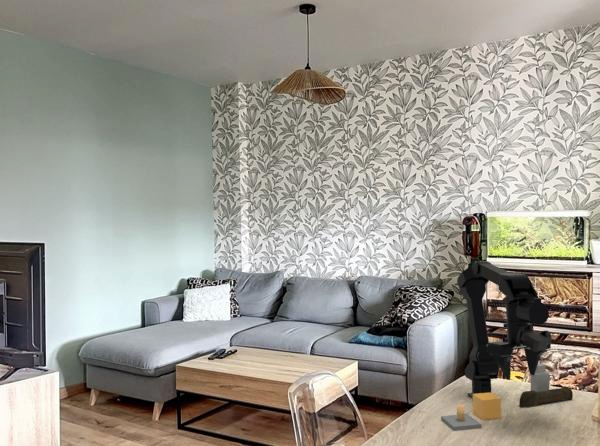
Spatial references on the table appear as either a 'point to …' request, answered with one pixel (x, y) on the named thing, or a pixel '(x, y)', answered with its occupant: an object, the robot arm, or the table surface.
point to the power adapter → (540, 378)
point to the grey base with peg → (461, 420)
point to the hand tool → (544, 396)
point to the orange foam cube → (486, 406)
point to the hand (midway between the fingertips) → (520, 377)
